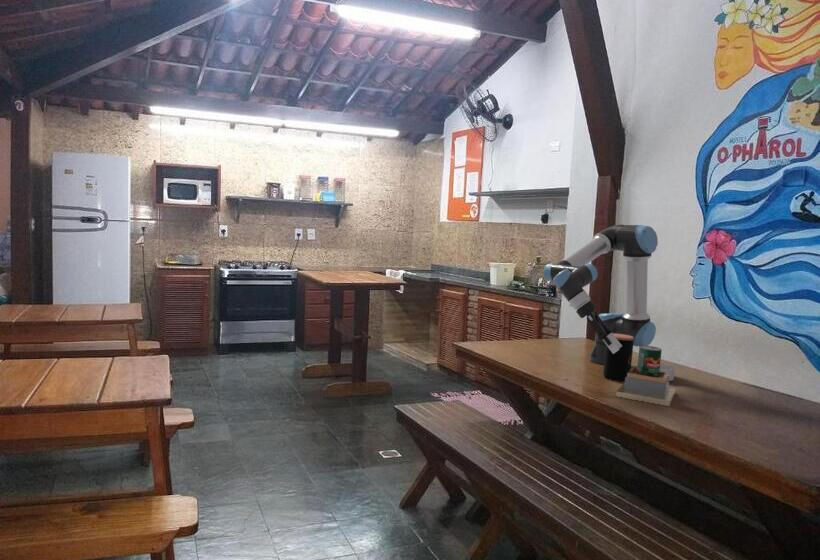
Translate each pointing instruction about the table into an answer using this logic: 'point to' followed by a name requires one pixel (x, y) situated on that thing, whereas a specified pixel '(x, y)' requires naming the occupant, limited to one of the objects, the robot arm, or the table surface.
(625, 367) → the coffee jar
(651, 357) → the canned tomato
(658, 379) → the grey rectangular box
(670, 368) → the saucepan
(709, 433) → the table surface
